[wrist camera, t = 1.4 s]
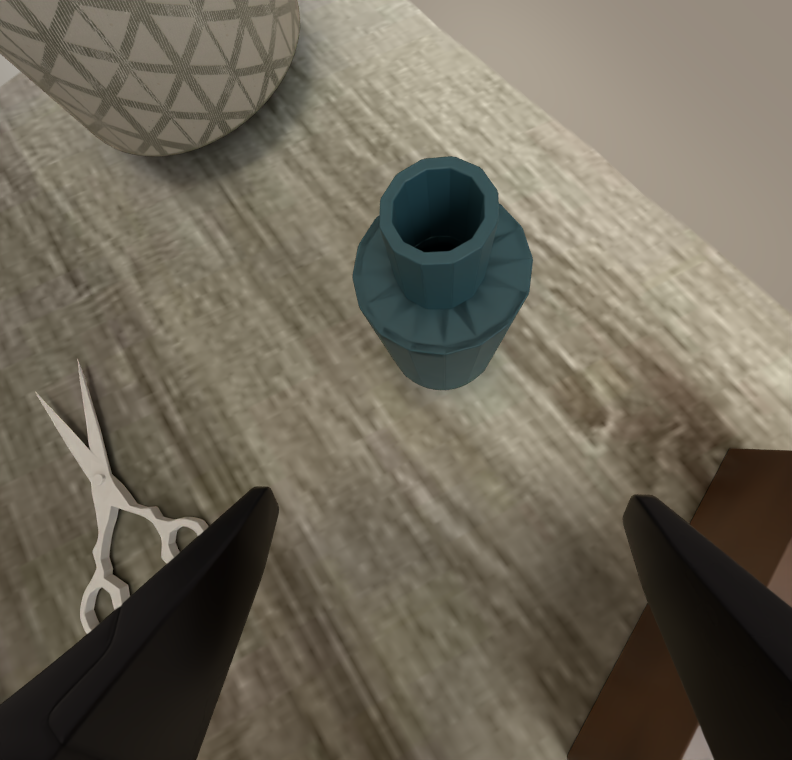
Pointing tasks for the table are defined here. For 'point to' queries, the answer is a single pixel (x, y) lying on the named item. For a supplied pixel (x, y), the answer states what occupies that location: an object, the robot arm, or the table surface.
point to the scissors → (111, 509)
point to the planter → (153, 64)
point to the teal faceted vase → (442, 272)
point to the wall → (646, 650)
